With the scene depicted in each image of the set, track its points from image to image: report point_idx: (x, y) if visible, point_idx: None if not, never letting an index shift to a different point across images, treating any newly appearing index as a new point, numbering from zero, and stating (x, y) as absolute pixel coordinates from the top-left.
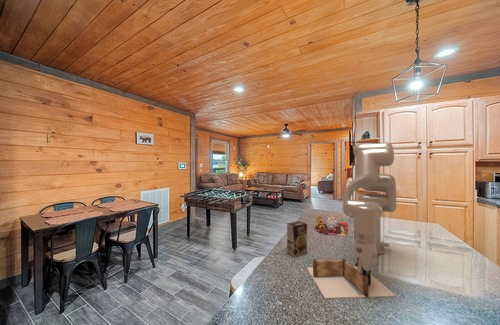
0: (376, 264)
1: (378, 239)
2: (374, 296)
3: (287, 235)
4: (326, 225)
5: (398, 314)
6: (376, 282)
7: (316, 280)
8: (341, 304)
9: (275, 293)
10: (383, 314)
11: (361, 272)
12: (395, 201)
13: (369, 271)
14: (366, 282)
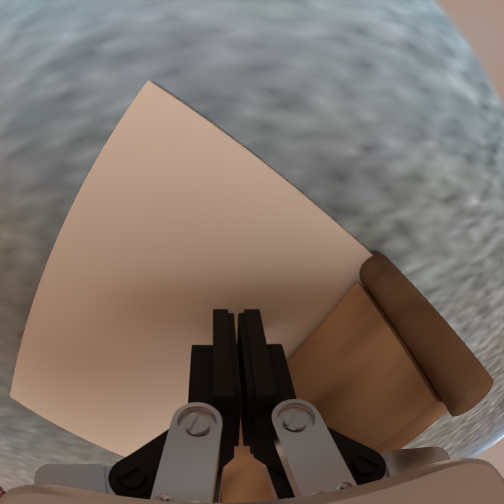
0: (65, 499)
1: None
2: (335, 221)
3: None
4: None
5: (413, 32)
6: (80, 282)
7: None
8: (493, 316)
9: (489, 426)
10: (476, 123)
11: (431, 457)
12: None
13: (218, 439)
14: (463, 344)
